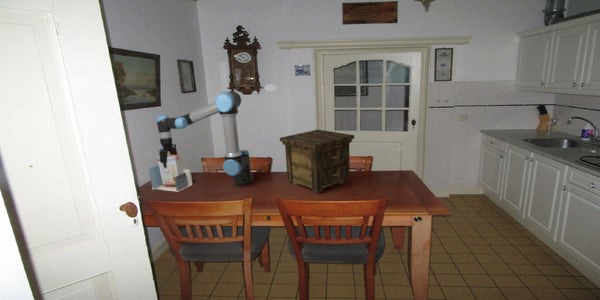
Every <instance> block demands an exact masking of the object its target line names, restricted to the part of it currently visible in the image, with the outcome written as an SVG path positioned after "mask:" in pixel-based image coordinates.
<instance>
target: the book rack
mask: <svg viewBox="0 0 600 300" xmlns="http://www.w3.org/2000/svg"><path fill="white" fill-rule="evenodd" d="M182 172H183V173H186V177H187V184H188V187H186V188H189V187H190V186H193V180H192V179H193V178H192V172H191V169H185V168H182ZM148 173H149V177H150V178H149V179H150V184H151V187H152V188H151V190H162V191H166V192H167V191H169V192H180V191H183V190H185V189H186V188H184V189H182V190H180V191H177V189H176V185H163V184H162V179H161V174H160V168H159V163H158V164H156V165H153V166H150V167H148Z"/></svg>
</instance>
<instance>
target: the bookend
mask: <svg viewBox="0 0 600 300" xmlns="http://www.w3.org/2000/svg"><path fill="white" fill-rule="evenodd" d="M175 183H176V189H177V191H179V192H180V190H181V191H183V190H185V189H186V187H187V188H189V187H188V184H187V177H186V173H183V174H180V175H178V176H176V177H175ZM184 188H185V189H184ZM182 189H183V190H182Z"/></svg>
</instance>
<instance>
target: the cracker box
mask: <svg viewBox="0 0 600 300" xmlns="http://www.w3.org/2000/svg"><path fill="white" fill-rule="evenodd" d="M157 163H158V164H159V168H160V174H161V179H162V184H163V185H176V183H175V177H176V176H178V175H180V174H183V172H182V169H183V167H182V161H181V155H180V154H178V155H170V154H167V163H168V167H169V172H165V167H164V165H163V163H161V162H160V155H159V156H157Z"/></svg>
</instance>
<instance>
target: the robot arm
mask: <svg viewBox="0 0 600 300" xmlns="http://www.w3.org/2000/svg"><path fill="white" fill-rule="evenodd" d="M241 104H242V97H241V95H240V94H239V93H238V92H237V91H226V92H222V93H219V94H218V96H217V97H216V98H215V101H213V102H211V103H209V104H207V105H205V106H202V107H200V108H197V109H195V110H193V111H191V112H188V113H186V114H184V115H183V114H182V115H180V116H177V117H169V115H168V114H159V115H156V117H155V118H156V126H157V130H158V135H159V143H160V145H161V147H159V148H158V149H157V150H158V153H159V156H160V162H161V163H163V165H164V167H165V172H169V167H168V163H167V155H168V154H169V155H179V154H178V150H177V144H176V143H173V138H172V131H171V130H174V129H175V130H181V129H182V130H183V129H186V128H187V126H190V125H193V124H194V123H196V122H200V121H202V120H204V119H206V118H209V117H211V116H214V115H216V114H219V116H221V117H222V125H223V135H224V145H225V153H224V162H223V164H222V170H223V171H224V173H225V174H227V175H228V176H231V177H232V176H233V177H232V184H234V185H237V186H238V185H239V186H241V185H242V186H244V185H248V184H251V183H253V182H254V181H255V179H254V178H255V177H254V176H253V173H252V171H251V162H250V152H249V150H247V149H240V143H239V135H238V134H239V133H238V125H237V115H238V113H239V110H238V108H239V107H240V106H241Z"/></svg>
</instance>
